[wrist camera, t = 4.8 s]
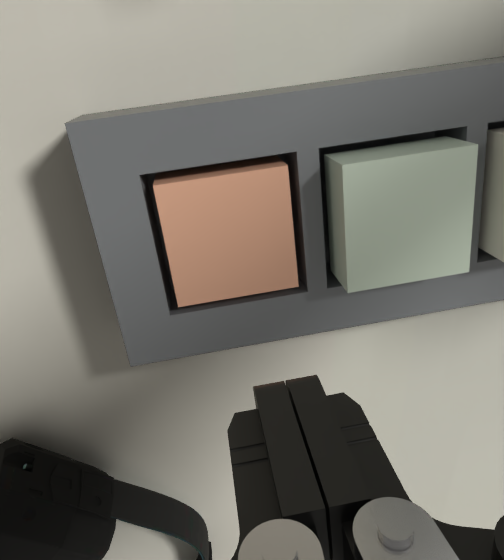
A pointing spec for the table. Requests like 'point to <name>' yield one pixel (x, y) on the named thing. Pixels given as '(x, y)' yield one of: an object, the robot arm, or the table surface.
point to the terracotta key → (228, 229)
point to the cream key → (493, 196)
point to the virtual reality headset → (78, 508)
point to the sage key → (400, 211)
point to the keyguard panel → (303, 189)
